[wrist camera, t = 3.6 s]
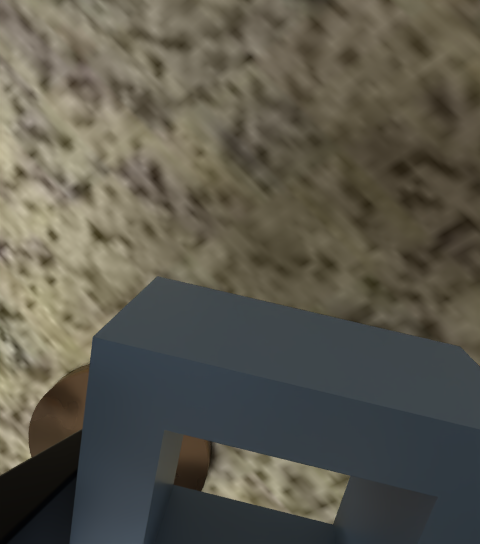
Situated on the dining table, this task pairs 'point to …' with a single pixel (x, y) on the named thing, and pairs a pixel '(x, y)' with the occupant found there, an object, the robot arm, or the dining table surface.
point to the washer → (274, 423)
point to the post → (69, 419)
